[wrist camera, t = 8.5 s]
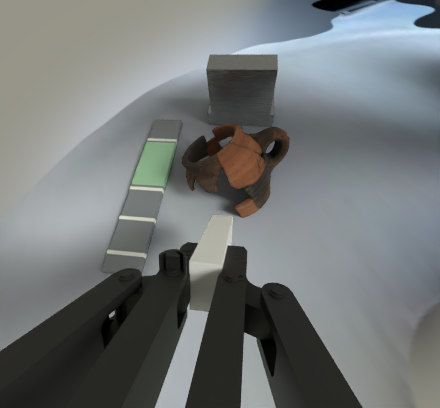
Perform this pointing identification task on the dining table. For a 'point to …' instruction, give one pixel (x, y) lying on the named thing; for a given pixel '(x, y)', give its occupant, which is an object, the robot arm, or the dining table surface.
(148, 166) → the gauge strip
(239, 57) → the striated grey slab
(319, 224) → the dining table surface
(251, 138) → the pottery mug
